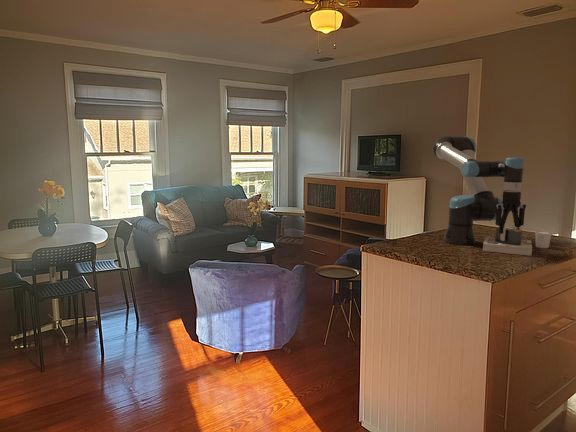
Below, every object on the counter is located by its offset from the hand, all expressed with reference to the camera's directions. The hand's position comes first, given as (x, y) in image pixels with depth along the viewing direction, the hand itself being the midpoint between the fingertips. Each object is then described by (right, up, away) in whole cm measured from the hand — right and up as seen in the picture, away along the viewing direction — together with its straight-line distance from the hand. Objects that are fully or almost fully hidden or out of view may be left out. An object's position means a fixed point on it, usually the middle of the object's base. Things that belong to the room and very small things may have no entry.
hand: (508, 240), depth 211 cm
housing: (0, -4, +1) cm, 4 cm away
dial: (0, -2, +1) cm, 2 cm away
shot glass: (+20, -4, +6) cm, 21 cm away
